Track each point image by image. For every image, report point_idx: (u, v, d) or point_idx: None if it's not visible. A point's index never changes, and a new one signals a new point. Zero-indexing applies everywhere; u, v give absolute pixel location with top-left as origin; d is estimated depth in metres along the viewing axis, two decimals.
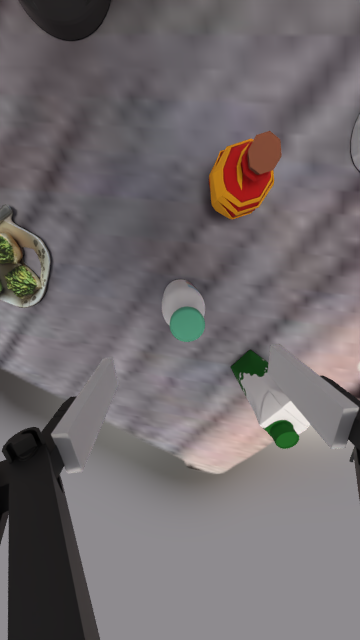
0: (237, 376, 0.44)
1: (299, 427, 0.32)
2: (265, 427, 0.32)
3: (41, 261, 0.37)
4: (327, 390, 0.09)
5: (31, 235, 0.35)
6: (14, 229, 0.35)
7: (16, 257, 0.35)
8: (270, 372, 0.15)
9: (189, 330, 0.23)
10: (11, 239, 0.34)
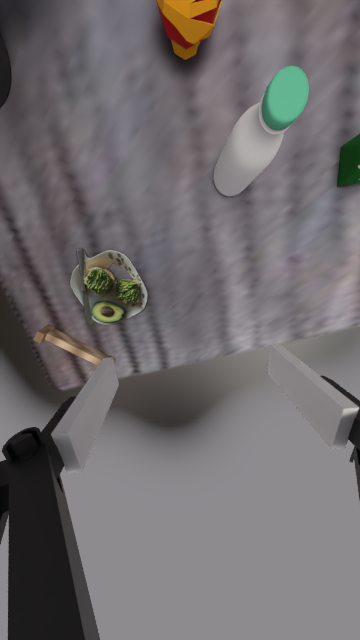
0: (357, 175, 0.35)
1: None
2: None
3: (124, 266, 0.42)
4: (327, 390, 0.09)
5: (104, 252, 0.41)
6: (93, 261, 0.41)
7: (111, 275, 0.41)
8: (270, 372, 0.15)
9: (293, 97, 0.19)
10: (98, 267, 0.41)
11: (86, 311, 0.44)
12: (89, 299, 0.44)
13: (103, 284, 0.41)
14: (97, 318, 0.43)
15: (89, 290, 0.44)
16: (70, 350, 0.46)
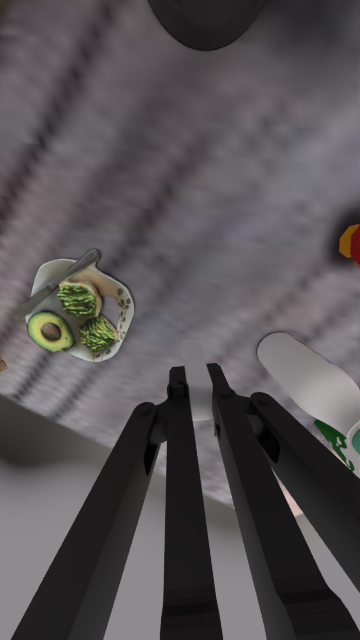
0: (331, 439, 0.38)
1: None
2: None
3: (121, 311, 0.31)
4: (200, 373, 0.12)
5: (117, 283, 0.29)
6: (97, 276, 0.28)
7: (98, 310, 0.29)
8: None
9: None
10: (94, 289, 0.28)
11: (27, 305, 0.29)
12: (46, 299, 0.29)
13: (78, 309, 0.28)
14: (29, 330, 0.28)
15: (57, 291, 0.29)
16: None
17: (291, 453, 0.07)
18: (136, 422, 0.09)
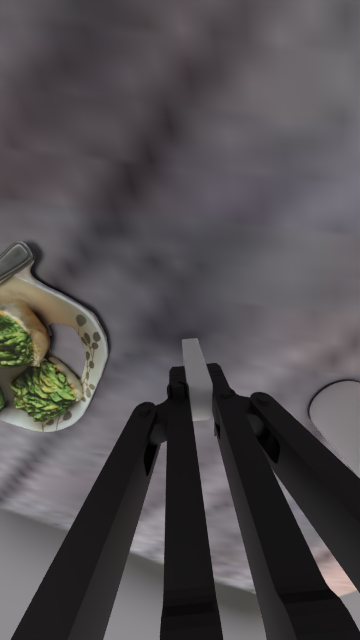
0: None
1: None
2: None
3: (87, 350, 0.18)
4: (200, 373, 0.12)
5: (73, 306, 0.16)
6: (36, 293, 0.15)
7: (38, 355, 0.15)
8: None
9: None
10: (29, 317, 0.15)
11: None
12: None
13: None
14: None
15: None
16: None
17: (291, 453, 0.07)
18: (136, 422, 0.09)
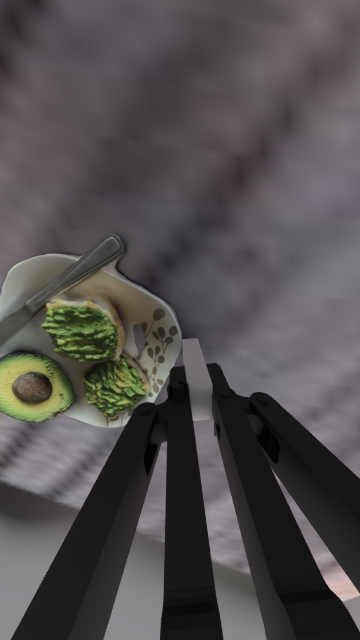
0: None
1: None
2: None
3: (157, 345, 0.18)
4: (200, 373, 0.12)
5: (154, 300, 0.15)
6: (118, 286, 0.15)
7: (120, 349, 0.15)
8: None
9: None
10: (114, 311, 0.15)
11: None
12: (23, 330, 0.16)
13: (84, 350, 0.15)
14: None
15: (45, 313, 0.16)
16: None
17: (291, 453, 0.07)
18: (136, 422, 0.09)
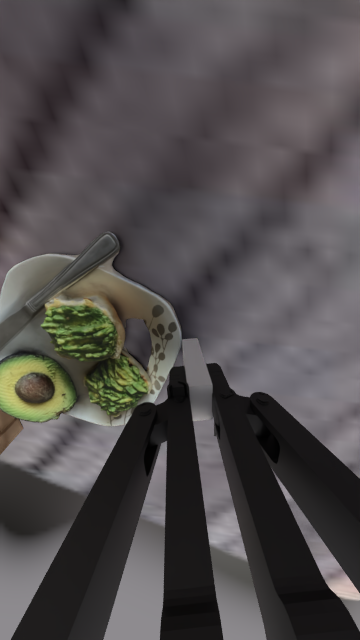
0: None
1: None
2: None
3: (158, 342, 0.18)
4: (200, 373, 0.12)
5: (152, 296, 0.15)
6: (116, 284, 0.15)
7: (120, 347, 0.15)
8: None
9: None
10: (112, 309, 0.15)
11: None
12: (23, 331, 0.16)
13: (84, 349, 0.15)
14: None
15: (44, 314, 0.16)
16: None
17: (291, 453, 0.07)
18: (136, 422, 0.09)
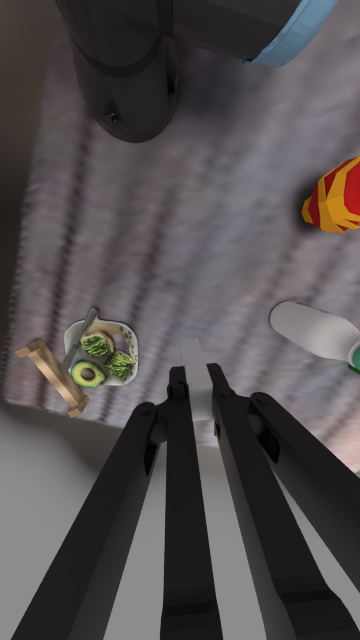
0: None
1: None
2: None
3: (128, 341, 0.41)
4: (200, 373, 0.12)
5: (116, 324, 0.39)
6: (102, 324, 0.39)
7: (111, 347, 0.39)
8: None
9: None
10: (103, 334, 0.38)
11: (66, 362, 0.40)
12: (76, 353, 0.40)
13: (98, 352, 0.38)
14: (74, 378, 0.39)
15: (81, 344, 0.40)
16: (48, 377, 0.40)
17: (291, 453, 0.07)
18: (136, 422, 0.09)
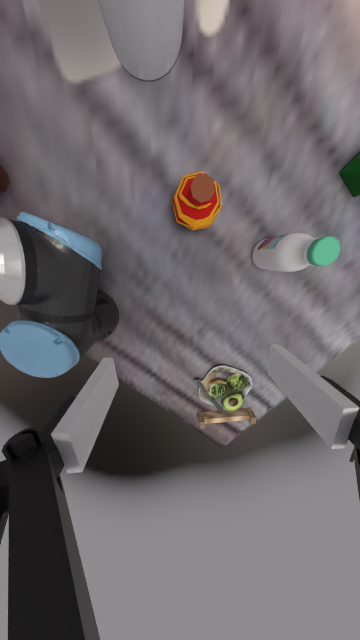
0: None
1: None
2: None
3: (224, 370, 0.59)
4: (327, 390, 0.09)
5: (210, 372, 0.58)
6: (206, 380, 0.59)
7: (223, 382, 0.57)
8: (270, 372, 0.15)
9: (330, 250, 0.29)
10: (212, 382, 0.58)
11: (219, 408, 0.62)
12: (216, 401, 0.61)
13: (222, 390, 0.58)
14: (231, 410, 0.59)
15: None
16: (223, 421, 0.62)
17: None
18: None
